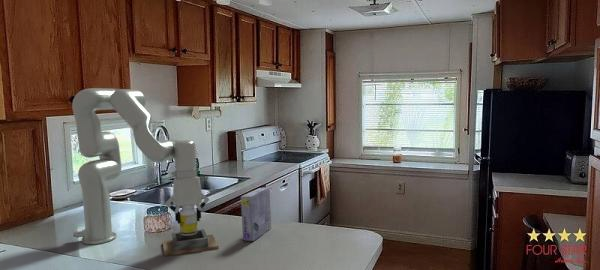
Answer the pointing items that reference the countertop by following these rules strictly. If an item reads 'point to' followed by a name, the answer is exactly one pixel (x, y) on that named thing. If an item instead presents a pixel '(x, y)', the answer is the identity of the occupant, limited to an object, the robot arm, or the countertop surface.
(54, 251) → the countertop surface
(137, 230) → the countertop surface
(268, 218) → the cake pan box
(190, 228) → the pill bottle
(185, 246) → the collar board
